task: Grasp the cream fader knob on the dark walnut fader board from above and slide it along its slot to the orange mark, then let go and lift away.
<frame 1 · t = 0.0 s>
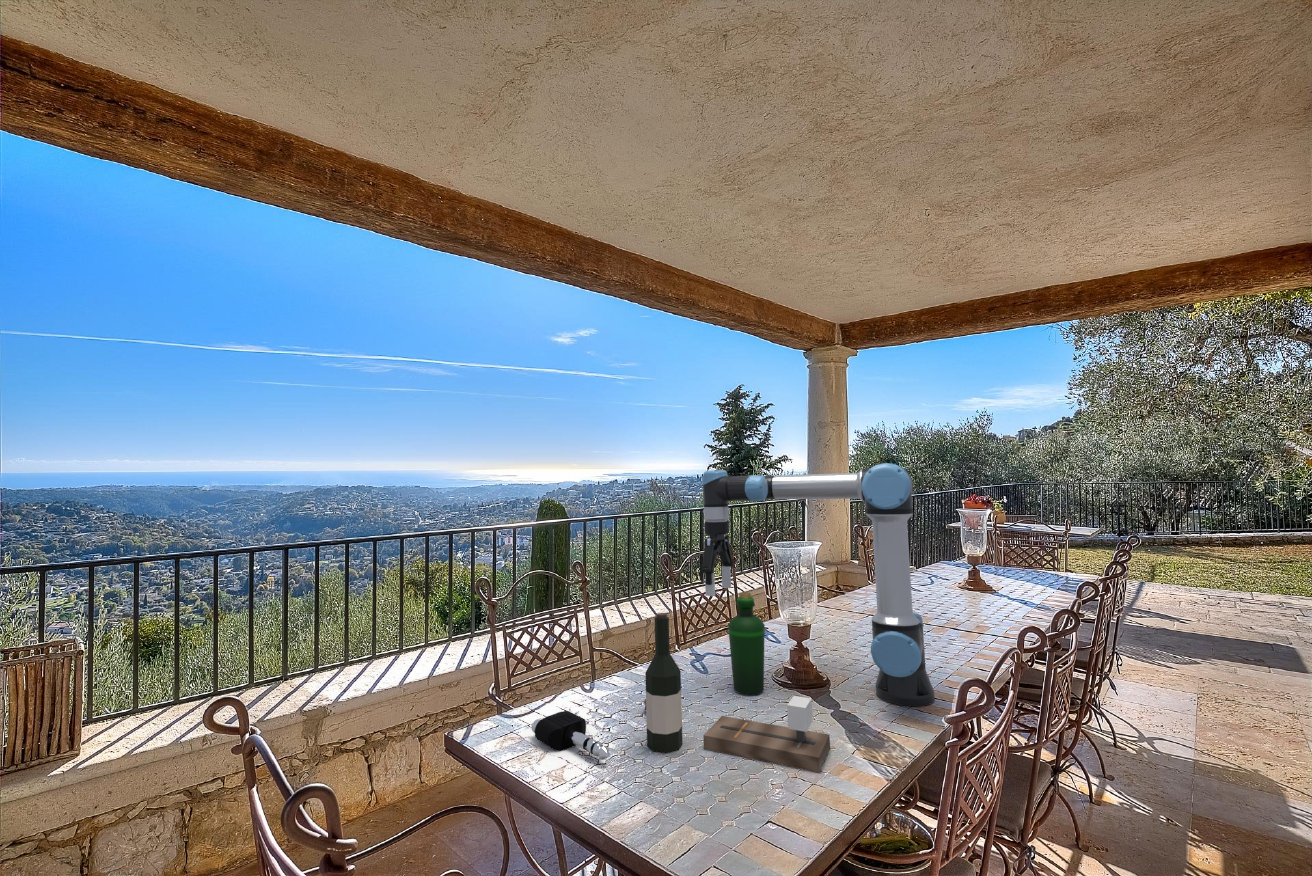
hand: (718, 591, 171), 28 cm above the table, tool pointing down, fingers open, 13 cm apart
wine bottle: (664, 746, 132), on the table
burger: (663, 713, 151), on the table
audio adapter: (576, 750, 131), on the table
fader board: (766, 748, 129), on the table
bottle: (748, 691, 165), on the table
fader knob: (800, 720, 126), point 7 cm above the table, slide at -8.0 cm
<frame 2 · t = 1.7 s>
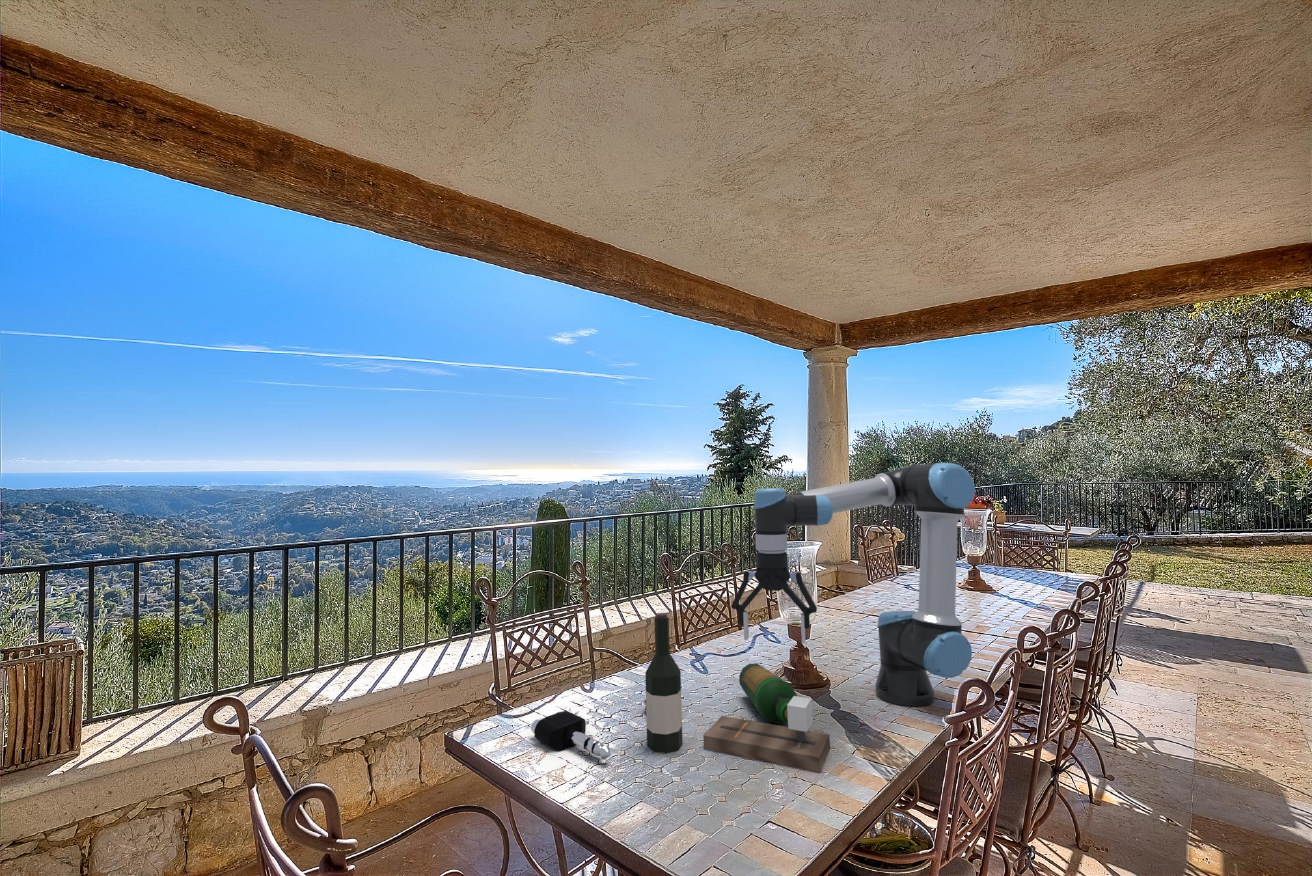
hand: (774, 640, 136), 22 cm above the table, tool pointing down, fingers open, 13 cm apart
bottle: (752, 677, 162), point 5 cm above the table
everything else where it was.
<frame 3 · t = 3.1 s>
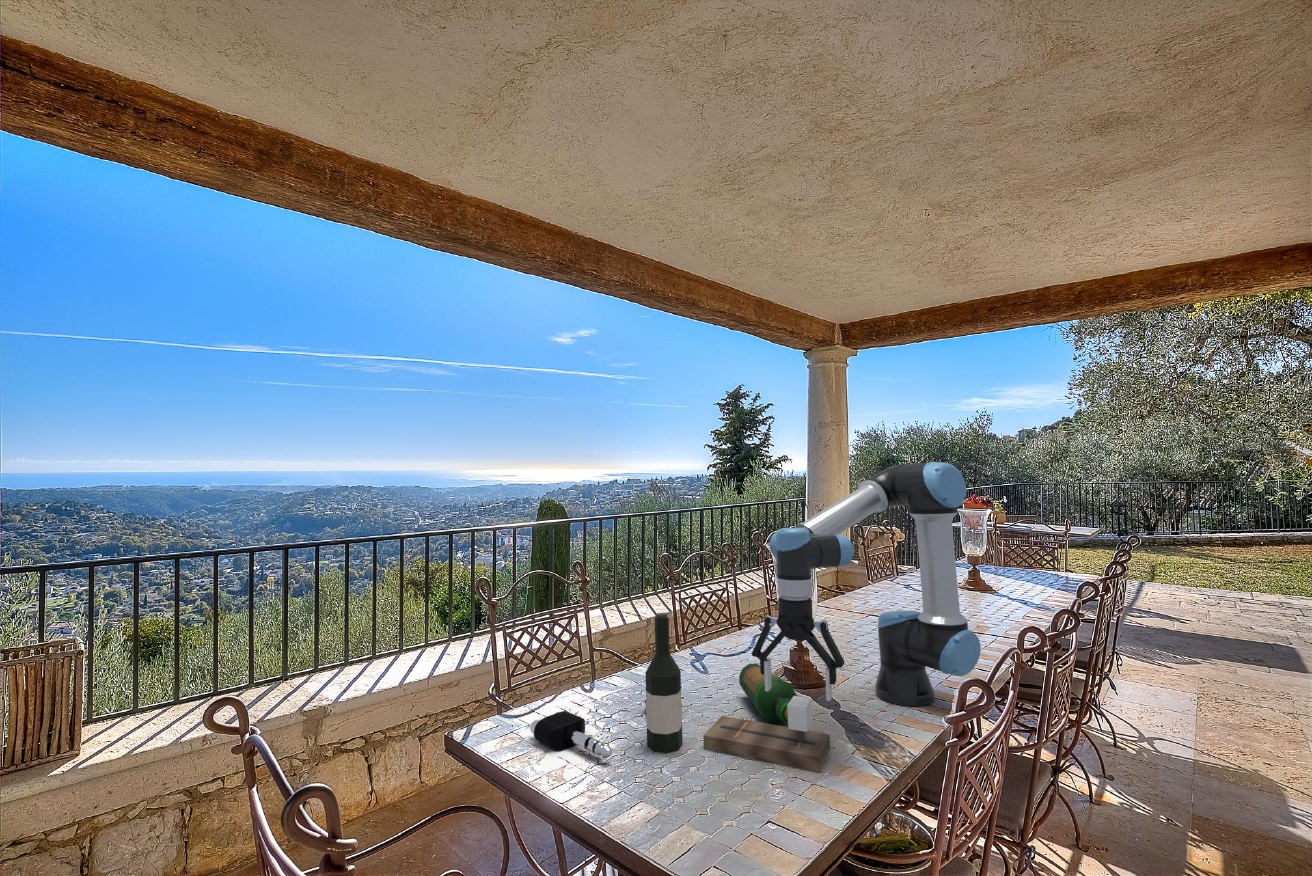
hand: (798, 694, 126), 13 cm above the table, tool pointing down, fingers open, 13 cm apart
nothing on the table moved.
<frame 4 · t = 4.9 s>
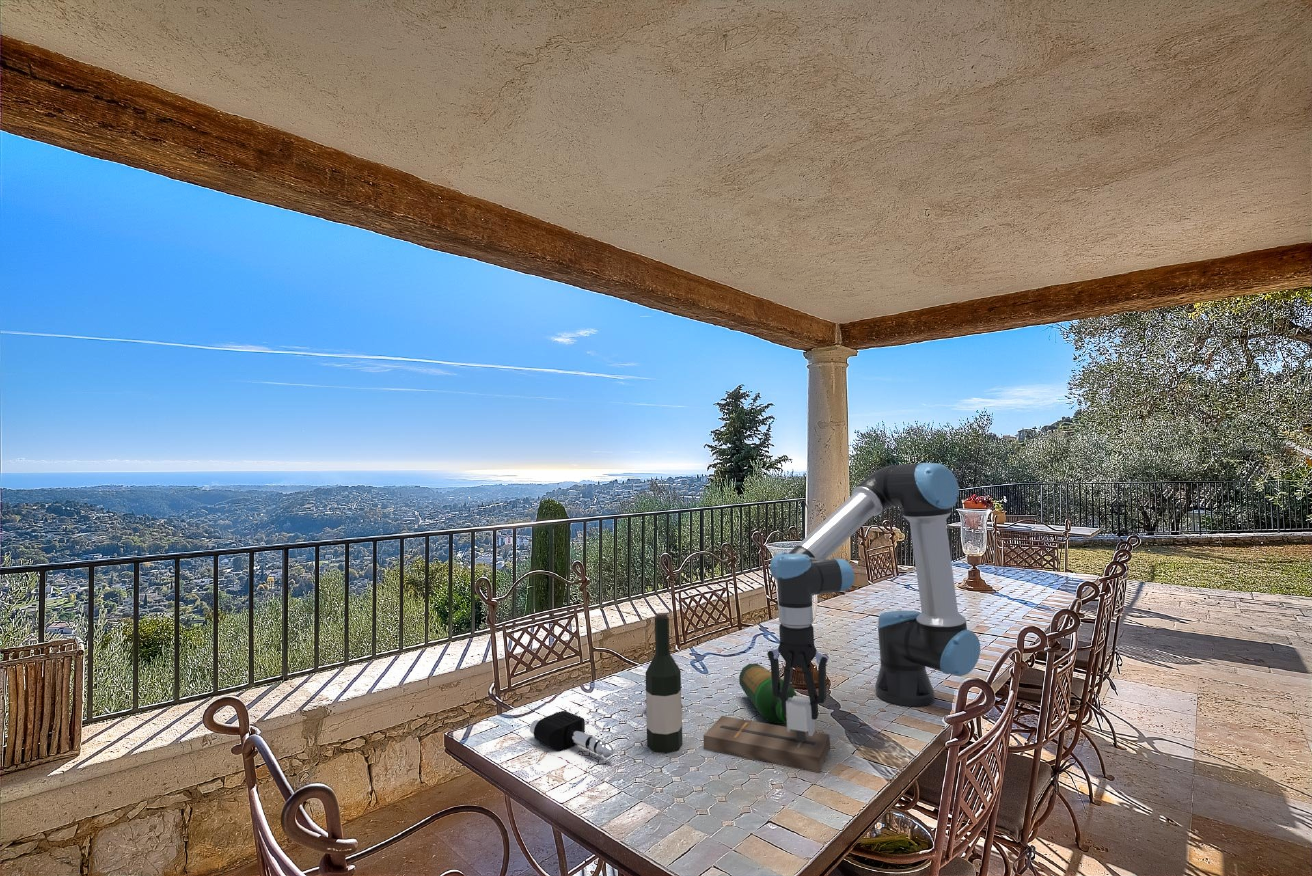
hand: (800, 731, 126), 5 cm above the table, tool pointing down, fingers closed on fader knob, 4 cm apart
fader knob: (800, 720, 126), point 7 cm above the table, slide at -8.0 cm, touching gripper
everything else where it was.
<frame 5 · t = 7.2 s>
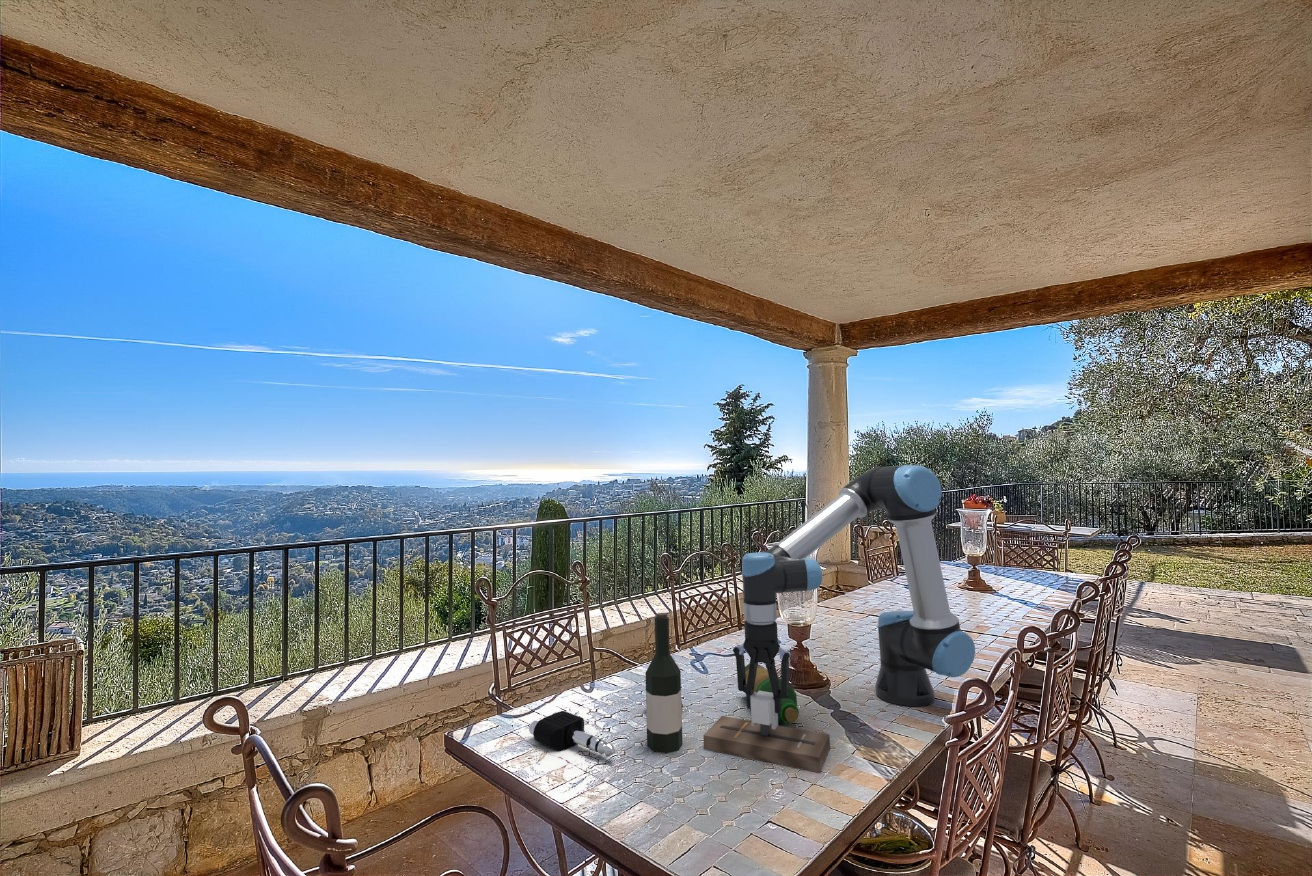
hand: (764, 724, 129), 5 cm above the table, tool pointing down, fingers closed on fader knob, 4 cm apart
fader knob: (764, 714, 130), point 7 cm above the table, slide at 0.2 cm, touching gripper
everything else where it was.
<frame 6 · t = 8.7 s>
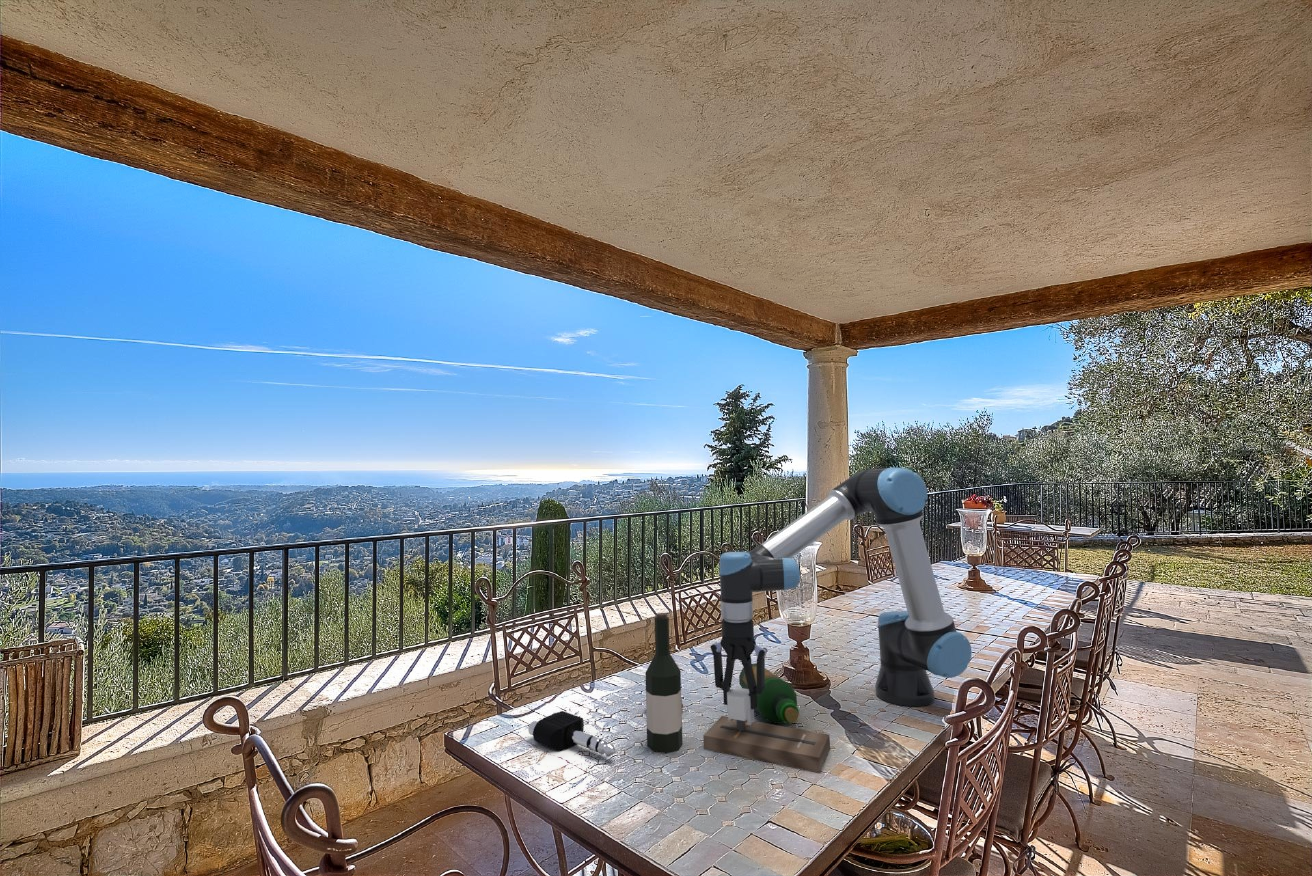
hand: (741, 720, 132), 5 cm above the table, tool pointing down, fingers closed on fader knob, 4 cm apart
fader knob: (740, 711, 132), point 7 cm above the table, slide at 5.9 cm, touching gripper
everything else where it was.
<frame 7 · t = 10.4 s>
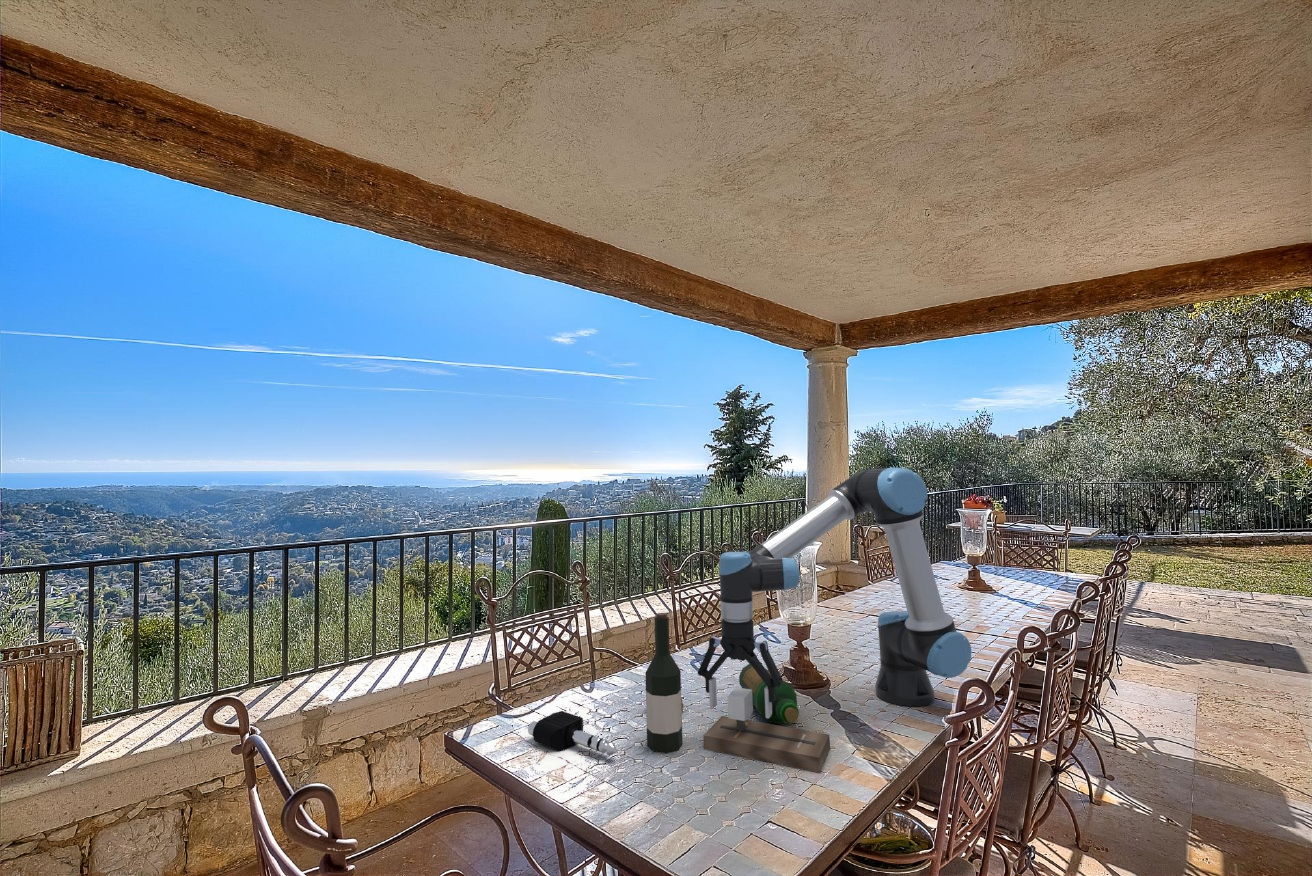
hand: (740, 711, 132), 7 cm above the table, tool pointing down, fingers open, 13 cm apart
fader knob: (740, 710, 132), point 7 cm above the table, slide at 6.0 cm
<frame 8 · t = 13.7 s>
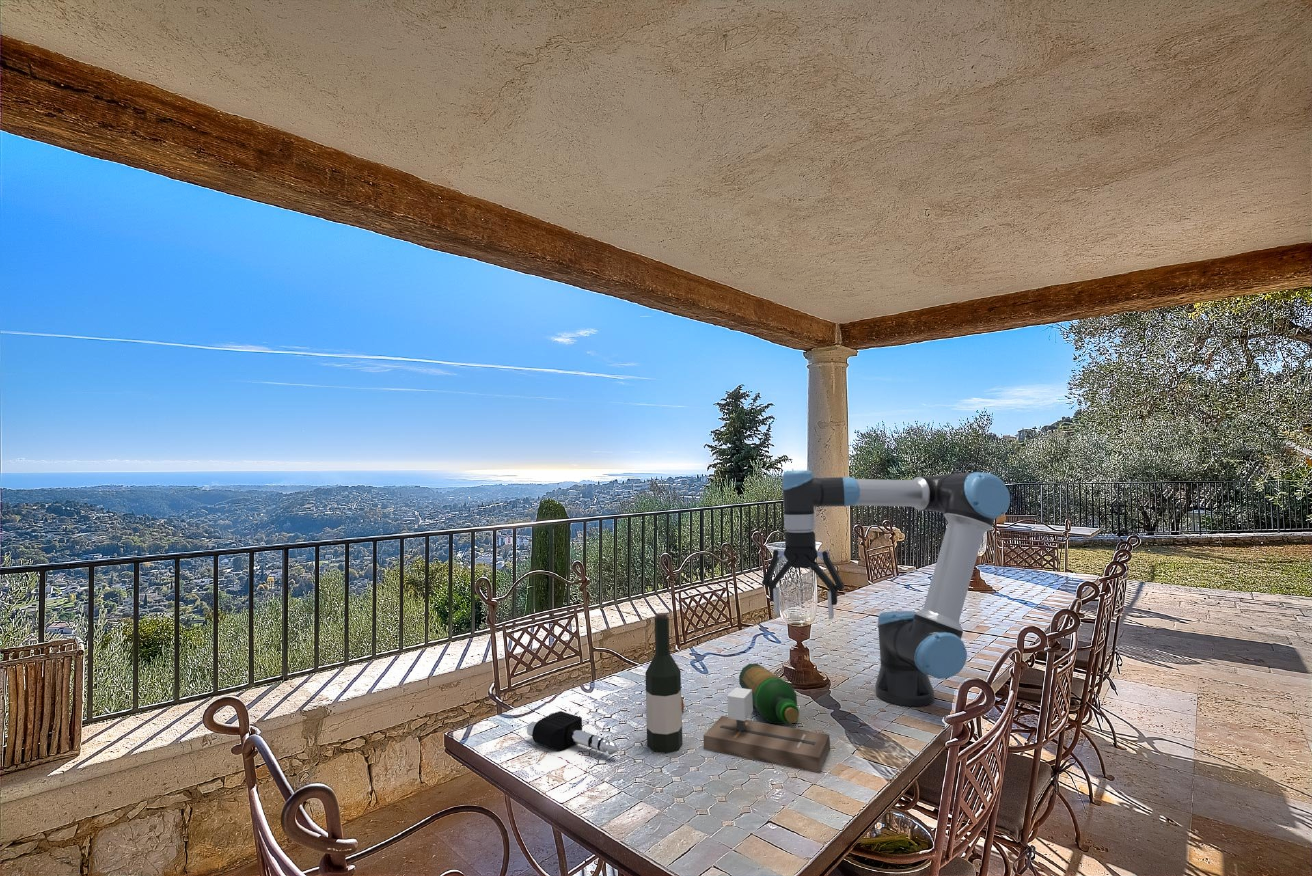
hand: (803, 616, 143), 27 cm above the table, tool pointing down, fingers open, 13 cm apart
at the end: fader knob slide at 6.0 cm; the gripper is holding nothing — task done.
